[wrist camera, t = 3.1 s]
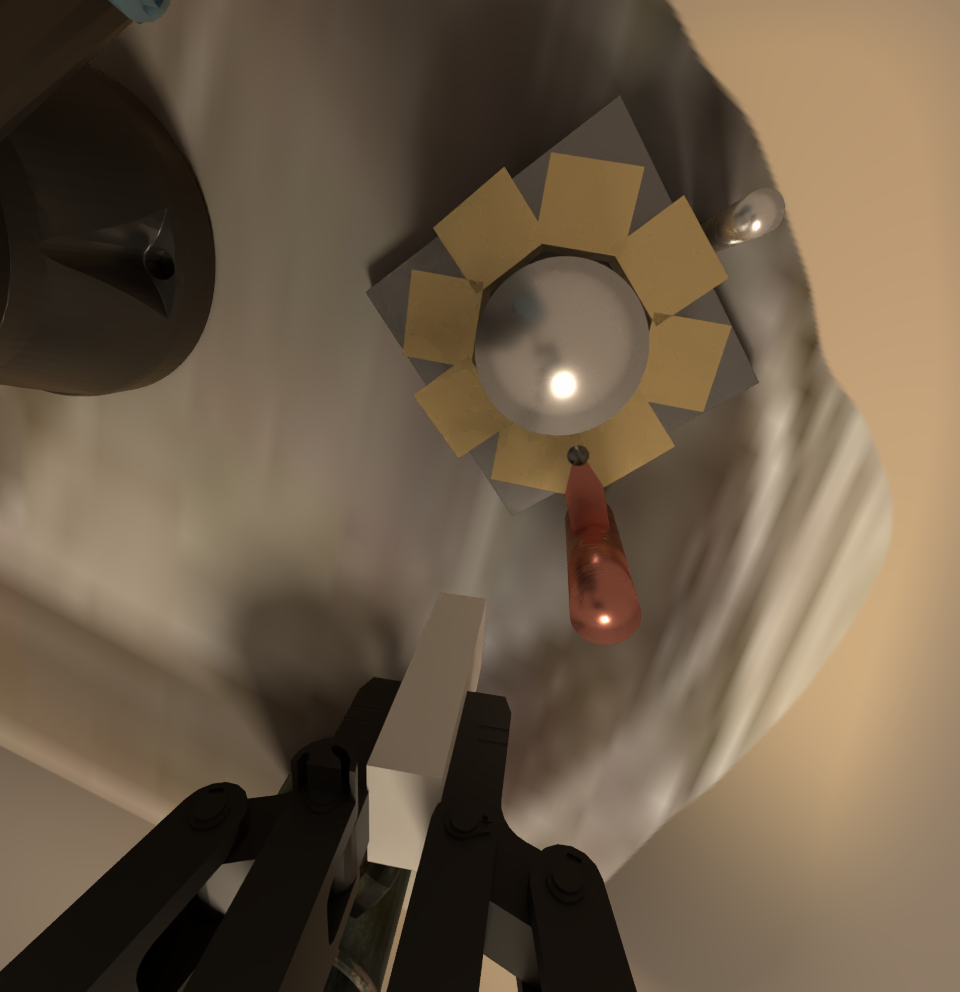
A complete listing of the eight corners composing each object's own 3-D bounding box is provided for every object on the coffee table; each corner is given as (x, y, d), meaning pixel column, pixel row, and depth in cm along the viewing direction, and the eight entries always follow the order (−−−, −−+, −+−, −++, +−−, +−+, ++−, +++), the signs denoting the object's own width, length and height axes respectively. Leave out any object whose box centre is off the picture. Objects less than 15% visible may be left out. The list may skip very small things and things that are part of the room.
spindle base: (372, 293, 24) (260, 281, 15) (658, 72, 20) (748, -134, 11) (513, 509, 27) (492, 611, 18) (790, 358, 23) (952, 390, 14)
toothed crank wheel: (392, 224, 22) (300, 175, 14) (689, 136, 19) (782, 16, 11) (476, 558, 27) (444, 661, 19) (721, 523, 24) (801, 624, 16)
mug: (262, 786, 38) (139, 985, 27) (366, 673, 33) (269, 862, 21) (377, 864, 39) (306, 1085, 28) (495, 767, 34) (466, 991, 23)
